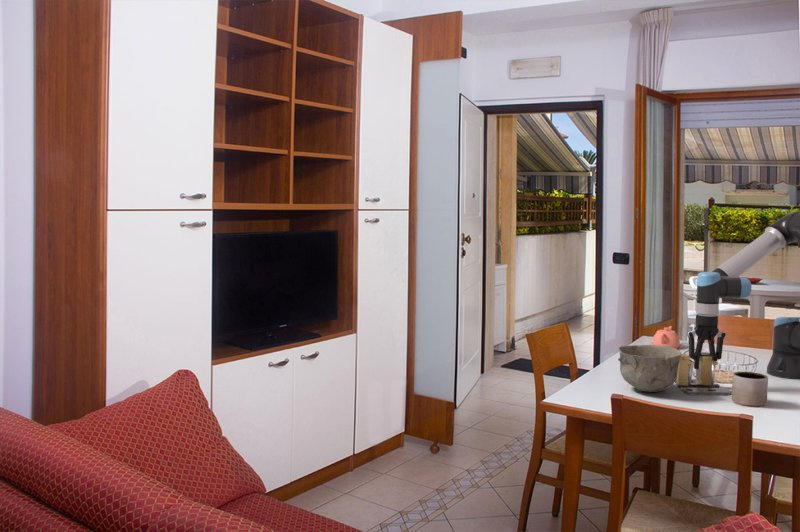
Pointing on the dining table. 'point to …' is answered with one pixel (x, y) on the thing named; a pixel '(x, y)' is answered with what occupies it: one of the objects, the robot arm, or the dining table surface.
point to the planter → (749, 389)
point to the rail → (699, 386)
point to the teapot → (666, 338)
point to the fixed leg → (684, 371)
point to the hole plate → (707, 391)
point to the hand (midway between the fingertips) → (704, 377)
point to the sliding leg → (707, 369)
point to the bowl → (649, 366)
